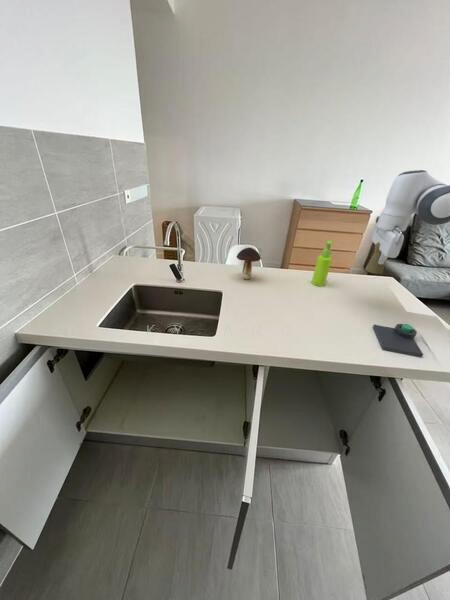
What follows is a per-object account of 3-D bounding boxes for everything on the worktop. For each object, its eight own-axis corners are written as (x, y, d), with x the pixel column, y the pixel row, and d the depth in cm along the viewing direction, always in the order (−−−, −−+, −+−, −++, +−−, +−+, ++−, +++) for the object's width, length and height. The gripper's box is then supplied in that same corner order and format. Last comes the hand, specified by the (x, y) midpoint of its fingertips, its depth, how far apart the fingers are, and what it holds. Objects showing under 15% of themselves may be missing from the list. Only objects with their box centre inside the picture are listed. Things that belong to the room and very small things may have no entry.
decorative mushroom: (230, 278, 113) (232, 247, 105) (243, 271, 121) (246, 242, 113) (250, 286, 108) (254, 254, 100) (262, 278, 115) (266, 247, 108)
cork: (367, 272, 91) (378, 244, 85) (363, 266, 96) (373, 239, 90) (384, 275, 90) (397, 246, 84) (380, 268, 95) (391, 241, 89)
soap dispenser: (326, 282, 115) (338, 240, 105) (323, 287, 110) (335, 245, 100) (313, 278, 118) (324, 238, 107) (310, 284, 113) (321, 242, 102)
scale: (408, 332, 85) (412, 325, 83) (424, 358, 74) (429, 351, 72) (371, 326, 87) (374, 319, 85) (382, 350, 76) (385, 342, 74)
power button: (409, 328, 82) (411, 324, 81) (412, 333, 80) (414, 330, 79) (399, 326, 83) (401, 322, 82) (402, 331, 80) (404, 328, 79)
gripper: (414, 231, 74) (396, 272, 82) (393, 217, 91) (379, 252, 99) (391, 229, 76) (375, 270, 83) (375, 216, 93) (363, 250, 100)
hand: (377, 260), depth 91 cm, fingers closed on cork, 4 cm apart
